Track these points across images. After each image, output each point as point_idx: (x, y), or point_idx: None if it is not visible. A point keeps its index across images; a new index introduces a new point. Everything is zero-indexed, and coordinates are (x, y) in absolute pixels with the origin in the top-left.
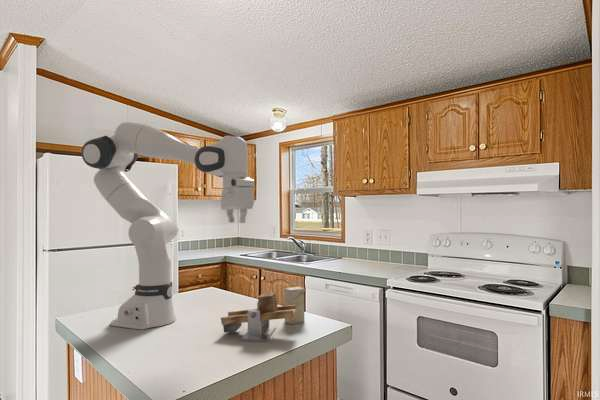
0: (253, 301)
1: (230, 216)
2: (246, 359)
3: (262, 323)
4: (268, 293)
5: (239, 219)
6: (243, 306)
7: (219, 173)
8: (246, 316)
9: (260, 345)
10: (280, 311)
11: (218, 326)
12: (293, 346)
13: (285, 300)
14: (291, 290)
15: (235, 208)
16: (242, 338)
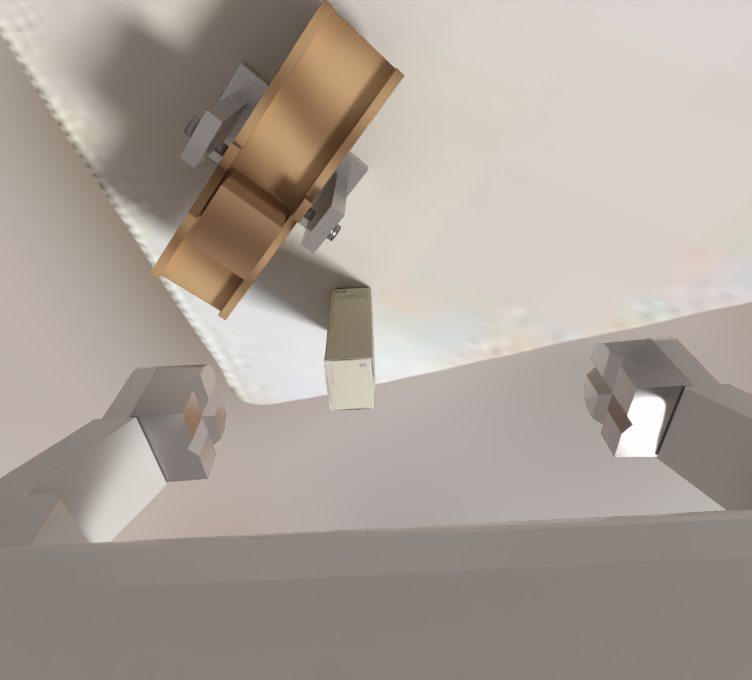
0: (681, 298)
1: (692, 431)
2: (49, 6)
3: (324, 194)
4: (257, 252)
5: (159, 394)
6: (650, 239)
7: None
8: (252, 112)
9: (172, 113)
10: (175, 237)
11: (465, 36)
12: (130, 207)
13: (363, 329)
14: (324, 363)
15: (132, 548)
16: (237, 68)
